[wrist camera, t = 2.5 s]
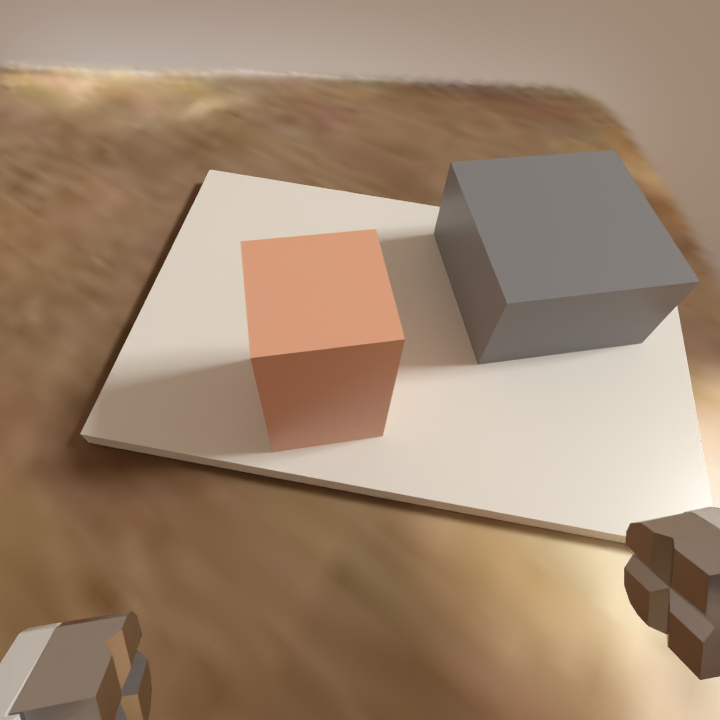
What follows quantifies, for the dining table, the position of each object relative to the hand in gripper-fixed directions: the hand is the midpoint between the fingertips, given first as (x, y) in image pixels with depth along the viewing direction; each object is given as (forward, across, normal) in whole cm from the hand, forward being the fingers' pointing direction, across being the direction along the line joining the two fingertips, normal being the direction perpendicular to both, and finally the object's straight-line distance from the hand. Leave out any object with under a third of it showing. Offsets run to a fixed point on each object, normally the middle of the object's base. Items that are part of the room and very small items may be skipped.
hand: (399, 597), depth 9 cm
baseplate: (+20, -6, 0) cm, 20 cm away
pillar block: (+17, 0, +2) cm, 17 cm away
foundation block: (+20, -12, -2) cm, 24 cm away
